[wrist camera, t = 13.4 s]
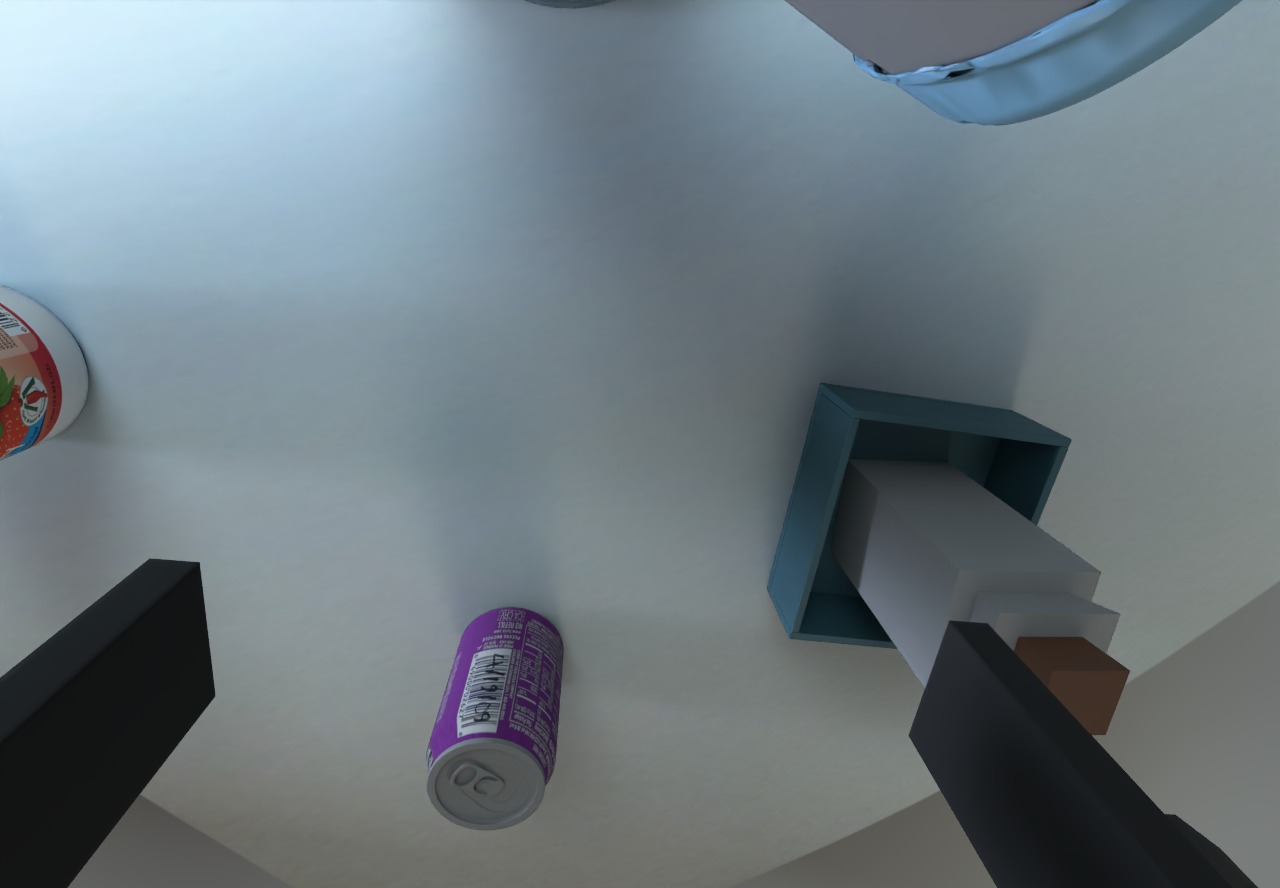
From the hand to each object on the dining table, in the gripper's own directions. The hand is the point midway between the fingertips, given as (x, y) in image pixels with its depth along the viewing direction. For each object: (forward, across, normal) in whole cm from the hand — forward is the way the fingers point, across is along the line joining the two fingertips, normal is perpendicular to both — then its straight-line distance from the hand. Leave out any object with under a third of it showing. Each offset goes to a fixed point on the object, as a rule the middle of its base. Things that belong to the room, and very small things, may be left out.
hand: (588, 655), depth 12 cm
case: (+28, +20, -9) cm, 36 cm away
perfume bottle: (+28, +20, -9) cm, 36 cm away
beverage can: (+28, -3, -22) cm, 36 cm away
